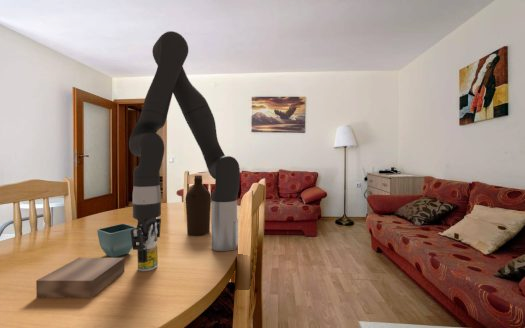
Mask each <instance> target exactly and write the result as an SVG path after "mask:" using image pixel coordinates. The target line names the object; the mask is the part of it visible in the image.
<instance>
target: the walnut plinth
mask: <svg viewBox="0 0 525 328" xmlns="http://www.w3.org/2000/svg"><path fill="white" fill-rule="evenodd" d="M123 273H125V257H115V258H113V257H77V258H75V259H74V260H72V261H70V262H69V263H66V264H64V265H63V266H61V267H59V268H57V269H55V270H53V271H51V272H50V273H48V274H46V275H44V276H42V277H40V278H38V279H37V280H36V281H35V282H36V285H35V286H36V298H37V297H40V298H41V297H43V299H44V297H45V299H46V298H56V299H57V298H58V299H59V298H60V299H61V298H68V299H69V298H72V299H73V298H74V299H75V298H78V299H80V298H82V299H83V298H85V299H87V298H88V299H89V298H90V299H92V298H94V297H95V296H97V295H98V294H99V293H100V292H101V291H103V290H104V289H105V288H106V287H107V286H108V285H110V284H111V283H113V282H114V281H115V280H116V279H117V278H118V277H120V276H121V275H122V274H123Z"/></svg>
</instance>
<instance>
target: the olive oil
mask: <svg viewBox="0 0 525 328" xmlns="http://www.w3.org/2000/svg"><path fill="white" fill-rule="evenodd" d="M193 180H194V184H193V185H192V186H191V187H190V189H188V190H187V192H186V195H185V212H186V231H187V232H186V233H187V235H188V236H192V237H201V236H206V235H209V234H210V232H211V231H210V229H211V227H210V225H211V224H210V223H211V207H212V200H211V195H212V194H211V193H210V191H209V190H208V189H207V188H206V187H205V185H204V184H203V175H200V174H199V175H197V174H195V175H194V179H193Z"/></svg>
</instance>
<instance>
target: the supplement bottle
mask: <svg viewBox="0 0 525 328" xmlns="http://www.w3.org/2000/svg"><path fill="white" fill-rule="evenodd" d="M143 238H146V237H143ZM154 239H155V235H154V234H151V236H150V240H149V241H148V243H147V261H146V262H145V263H139V262H138V261H137V269H138V271H140V272H150V271H153V270H155V269H156V268H157V267H158V264H159V263H158V262H159V261H158V260H159V259H158V242H157V241H154ZM143 244H144V241H143ZM136 251H137V252H136V253H137V254H136V255H137V257H138V250H136Z"/></svg>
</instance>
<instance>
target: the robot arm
mask: <svg viewBox="0 0 525 328" xmlns="http://www.w3.org/2000/svg"><path fill="white" fill-rule="evenodd" d="M151 51H152V52H151V53H152V56H153V59H154V61H155V63H156V66H157V68H156V71H155V73H154V77H153V79H152V82H151V83H150V85H149V88H148V90H147V92H146V95H145V98H144V100H143V103H142V104H143V105H142V108H141V112H140V115H139V119H138V120H137V122H136V124H135V125H134V127H133V130H132V132H131V134H130V137H129V140H128V147H129V151H130V153H131V154H132V155H134V156H136V157H139V163H138V165H137V166H136V167H134V169H133V171H132V172H133V175H132V176H133V177H132V178H133V179H132V181H133V185H132V186H133V189H132V218H133V219H135V220H137V223H136V227H137V228H136V229H132V230H131V239H132V250H136V251H137V250H138V256H137V263H138V262H139V263H145V262H146V261H147V243H148V241H149V240H150V236H151V234H154V235H155V239H154V241H156V242H157V241H158V238H161V237H160V236H161V227H162V226H161V225H162V218H160V216H161V215H162V197H161V196H162V192H161V183H160V182H161V178H160V176H161V175H160V173H161V172H160V171H161V167H162V163H163V160H164V155H165V144H164V140H163V138H162V137H161V136H160V134H158V133H157V132H158V131H159V130H160V129H162V128H164V127H165V125H166V122H167V117H168V113H169V108H170V105H171V101H172V98H173V97H172V96H174V99H176V102H177V105H178V106H179V108H180V111H181V113H182V115H183V118H184V119H185V121H186V124H187V126H188V127H189V129H190V131H191V133H192V135H193V137H194V139H195V141H196V143H197V146H198V148H199V149H200V151H201V154H202V157H203V159H204V162H205V165H206V168H207V171H208V173H209V175H210V176H211V177H212V178H213V179H214V180H215V181H214V183H215V184H214V185H215V186H214V190H213V191H212V193H211V194H210V195H211V249H212V250H214V251H216V252H229V251H233V250H234V251H235V250H237V247H238V245H239V219H238V195H239V191H240V180H241V179H240V178H241V171H240V170H241V169H240V163H239V161H238V160H237V159H236V158H235V157H233V156H230V155H225V153H224V151H223V149H222V147H221V145H220V143H219V139H218V135H217V127H216V126H217V125H216V120H215V117H214V114H213V112H212V110H211V107H210V105H209V103H208V101H207V99H206V97H204V95H203V94H202V93H201V92H200V91H199V90H198V89H197V88H196V87H195V86H194V85H193V84H192V83H191V81H190V79H189V78H188V76H187V74H186V72H185V71H186V70H185V69H184V63H185V62H186V60H187V58H188V54H189V45H188V42H187V40H186V39H185V38H184V36H183V35H182V34H181V33H179V32H177V31H174V30H170V31H165V32H164V33H163V34H161V35H160V36H159V37H158V39H157V40H156V42H155V43H154V44H153V46H152V50H151ZM143 237H146V238H143ZM143 241H144V244H143ZM237 244H238V245H237Z"/></svg>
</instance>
